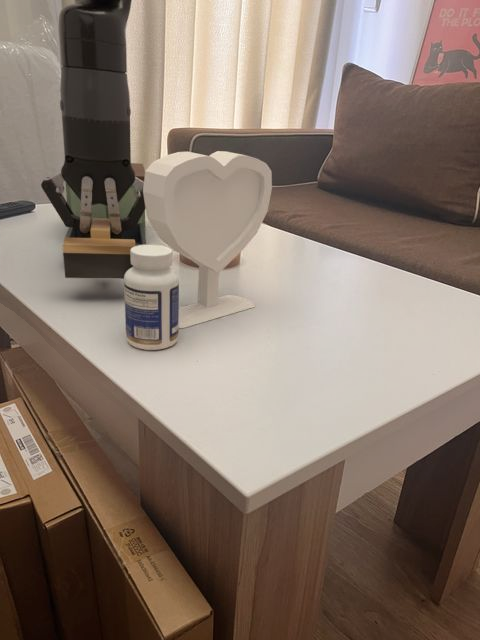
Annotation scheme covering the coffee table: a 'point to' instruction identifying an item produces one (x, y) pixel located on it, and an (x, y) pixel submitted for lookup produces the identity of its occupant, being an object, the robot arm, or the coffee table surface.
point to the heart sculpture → (207, 218)
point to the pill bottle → (151, 298)
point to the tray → (134, 234)
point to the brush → (97, 253)
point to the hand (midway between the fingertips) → (102, 259)
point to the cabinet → (102, 210)
